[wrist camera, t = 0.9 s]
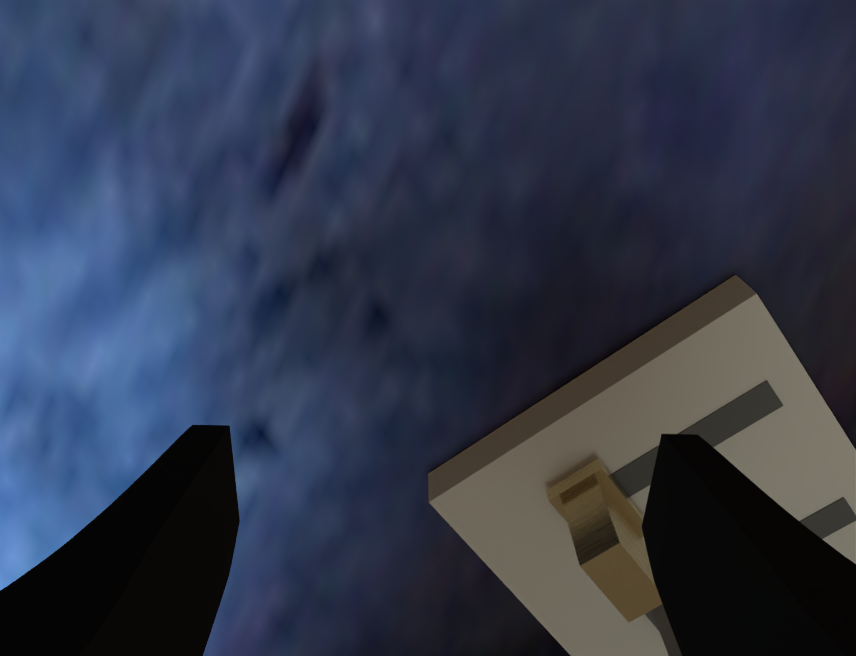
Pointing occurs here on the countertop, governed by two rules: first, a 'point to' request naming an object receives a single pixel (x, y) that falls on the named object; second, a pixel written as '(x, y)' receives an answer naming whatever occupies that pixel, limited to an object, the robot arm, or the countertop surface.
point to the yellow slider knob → (607, 538)
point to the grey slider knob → (664, 630)
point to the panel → (649, 457)
